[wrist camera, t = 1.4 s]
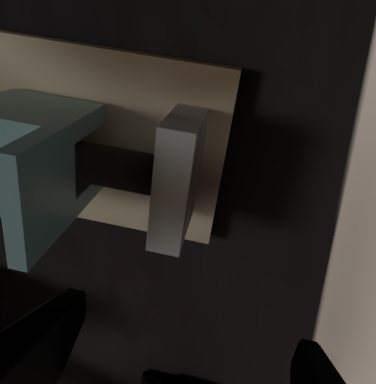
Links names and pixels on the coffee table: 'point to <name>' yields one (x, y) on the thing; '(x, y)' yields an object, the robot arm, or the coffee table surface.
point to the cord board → (138, 130)
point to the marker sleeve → (41, 170)
